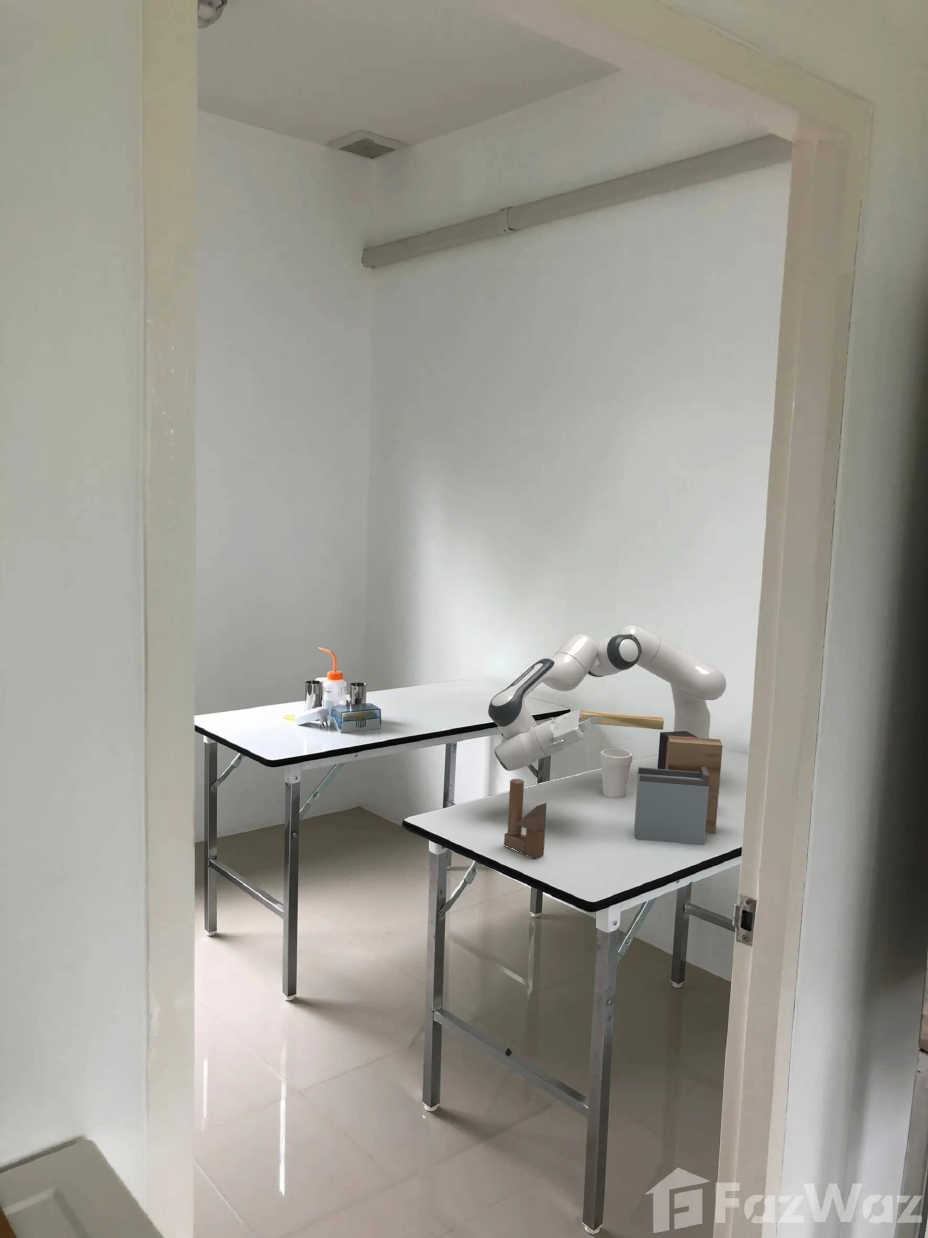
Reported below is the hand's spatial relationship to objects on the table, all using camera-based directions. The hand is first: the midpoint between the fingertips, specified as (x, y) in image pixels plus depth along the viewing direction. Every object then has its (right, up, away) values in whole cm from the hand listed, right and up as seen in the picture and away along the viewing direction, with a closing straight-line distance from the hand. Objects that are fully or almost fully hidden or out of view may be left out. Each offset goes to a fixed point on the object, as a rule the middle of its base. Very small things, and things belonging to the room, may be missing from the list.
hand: (596, 716), depth 259 cm
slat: (+7, -2, -1) cm, 7 cm away
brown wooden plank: (+26, -32, +7) cm, 42 cm away
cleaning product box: (+29, -29, +26) cm, 48 cm away
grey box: (+19, -32, 0) cm, 38 cm away
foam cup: (+10, -27, +32) cm, 43 cm away
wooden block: (-21, -33, -14) cm, 42 cm away
